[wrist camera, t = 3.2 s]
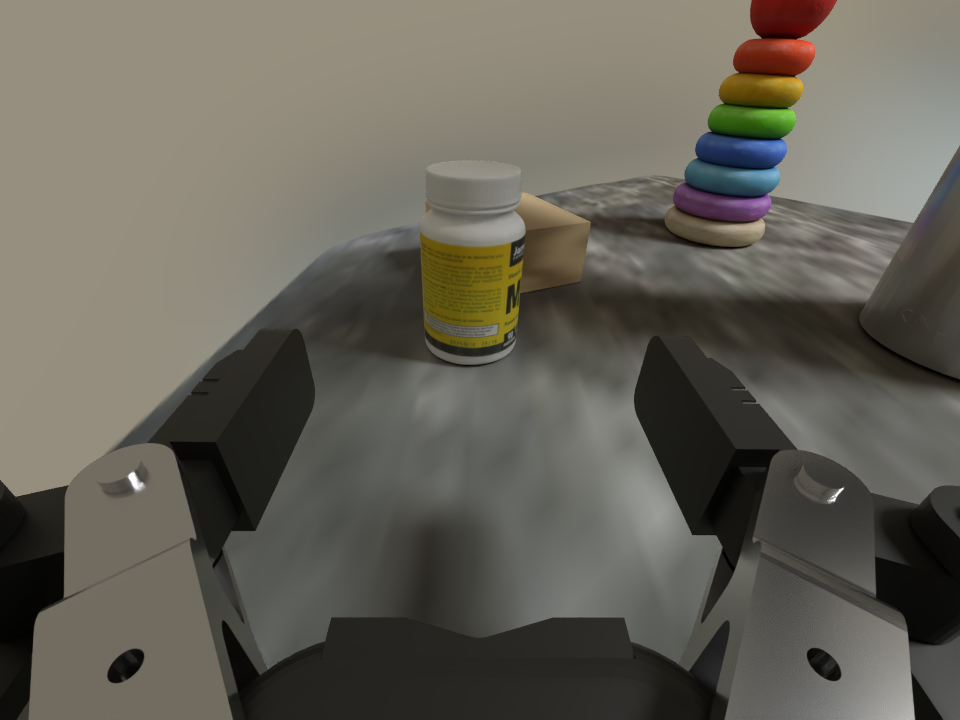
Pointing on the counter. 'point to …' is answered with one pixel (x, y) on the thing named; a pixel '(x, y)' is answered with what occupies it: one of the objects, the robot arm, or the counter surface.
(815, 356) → the counter surface
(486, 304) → the supplement bottle
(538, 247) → the oak block
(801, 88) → the stacking toy
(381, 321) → the counter surface
